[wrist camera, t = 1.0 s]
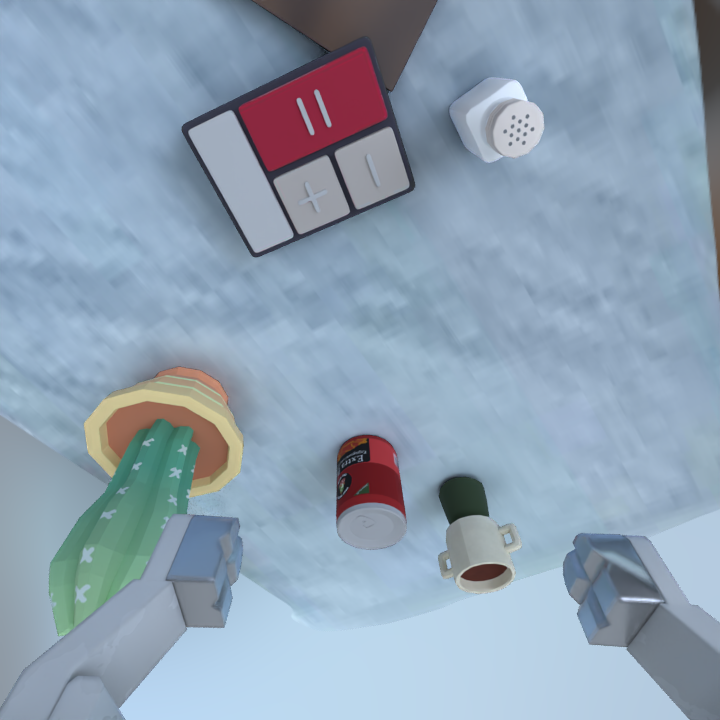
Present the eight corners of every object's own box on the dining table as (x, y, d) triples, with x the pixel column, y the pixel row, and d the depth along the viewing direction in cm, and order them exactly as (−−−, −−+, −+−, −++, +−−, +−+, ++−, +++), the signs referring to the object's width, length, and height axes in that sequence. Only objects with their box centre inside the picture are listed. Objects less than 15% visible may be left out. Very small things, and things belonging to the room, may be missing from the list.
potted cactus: (186, 462, 56) (97, 696, 35) (86, 382, 48) (-103, 623, 27) (283, 413, 52) (246, 645, 31) (191, 317, 44) (62, 543, 23)
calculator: (419, 191, 35) (252, 263, 37) (409, 180, 38) (257, 246, 40) (370, 31, 29) (175, 127, 31) (364, 36, 32) (189, 122, 34)
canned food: (359, 424, 53) (363, 498, 44) (409, 449, 56) (422, 524, 47) (325, 459, 57) (322, 535, 48) (373, 482, 59) (379, 557, 50)
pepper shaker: (444, 106, 34) (475, 120, 26) (491, 72, 33) (538, 76, 25) (466, 152, 36) (501, 178, 28) (511, 122, 35) (560, 140, 27)
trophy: (440, 515, 64) (460, 605, 54) (413, 491, 61) (429, 583, 50) (506, 484, 61) (541, 574, 50) (482, 457, 57) (514, 547, 47)
